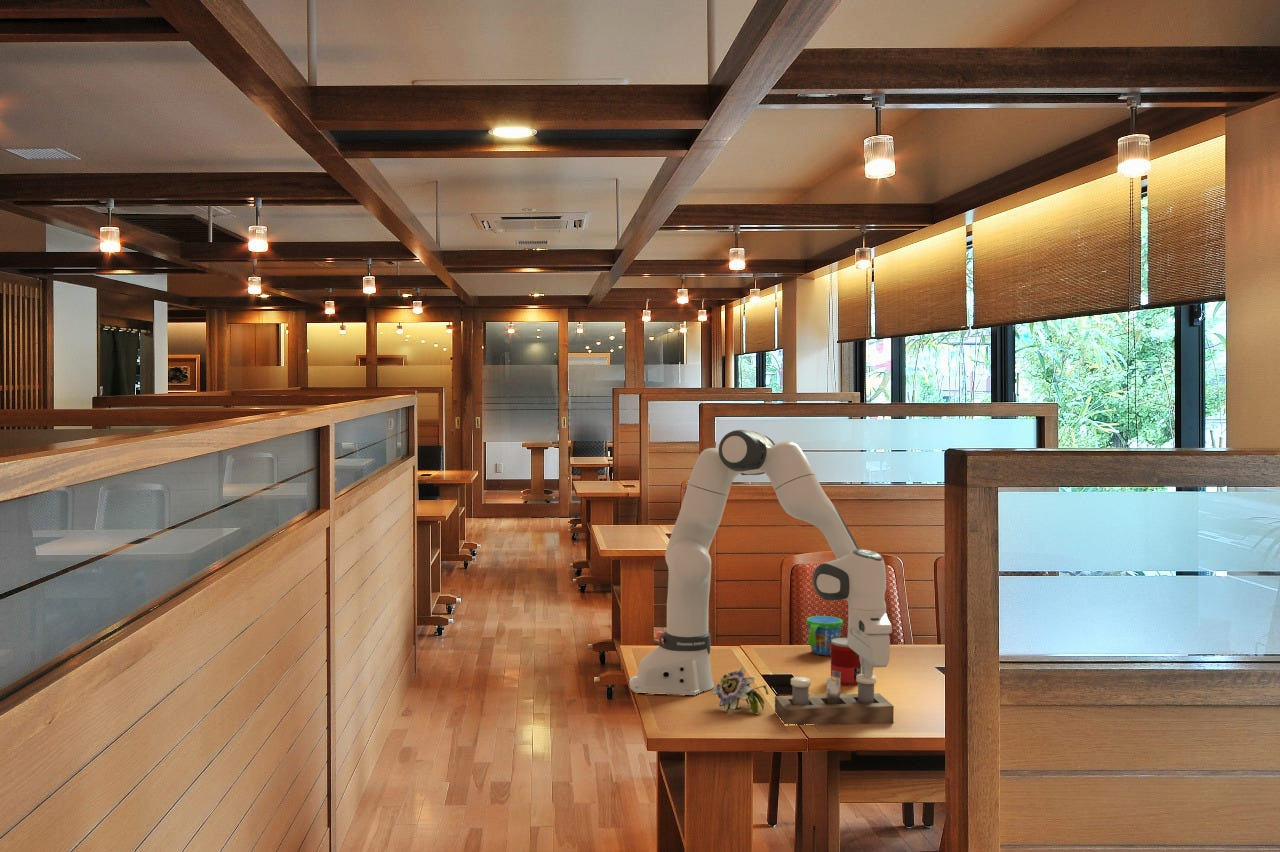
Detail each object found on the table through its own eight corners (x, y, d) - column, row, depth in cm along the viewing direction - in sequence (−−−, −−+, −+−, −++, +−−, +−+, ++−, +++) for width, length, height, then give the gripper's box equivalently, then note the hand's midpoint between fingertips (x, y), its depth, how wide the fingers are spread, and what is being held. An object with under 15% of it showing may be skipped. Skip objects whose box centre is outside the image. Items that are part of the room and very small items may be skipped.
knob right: (859, 717, 235) (859, 679, 234) (853, 711, 239) (853, 673, 239) (878, 717, 235) (878, 678, 235) (872, 711, 240) (872, 673, 239)
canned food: (861, 686, 262) (861, 645, 261) (830, 684, 263) (830, 643, 263) (860, 678, 269) (861, 638, 269) (830, 676, 271) (831, 636, 270)
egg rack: (784, 726, 230) (784, 709, 230) (774, 712, 240) (775, 696, 240) (893, 722, 233) (893, 706, 232) (879, 709, 242) (879, 693, 242)
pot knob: (828, 706, 234) (828, 680, 234) (824, 702, 238) (825, 676, 237) (841, 706, 235) (842, 679, 235) (837, 702, 238) (838, 676, 238)
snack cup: (825, 645, 305) (825, 612, 305) (854, 651, 298) (854, 618, 297) (794, 654, 294) (794, 620, 294) (823, 661, 287) (823, 626, 286)
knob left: (793, 721, 233) (793, 682, 233) (788, 715, 238) (788, 677, 237) (812, 720, 233) (812, 682, 233) (807, 714, 238) (807, 676, 238)
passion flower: (727, 733, 241) (700, 690, 244) (753, 714, 249) (727, 672, 252) (755, 717, 234) (727, 672, 237) (781, 698, 242) (754, 655, 245)
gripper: (841, 609, 246) (841, 664, 247) (868, 628, 226) (867, 688, 227) (865, 609, 247) (865, 664, 247) (894, 628, 227) (894, 687, 227)
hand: (867, 676), depth 237 cm, fingers closed, pressing on knob right
